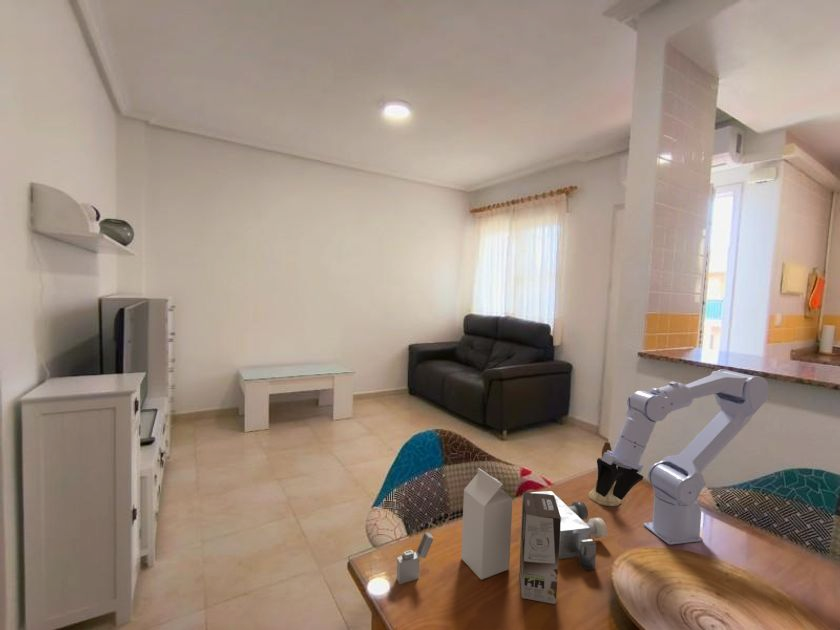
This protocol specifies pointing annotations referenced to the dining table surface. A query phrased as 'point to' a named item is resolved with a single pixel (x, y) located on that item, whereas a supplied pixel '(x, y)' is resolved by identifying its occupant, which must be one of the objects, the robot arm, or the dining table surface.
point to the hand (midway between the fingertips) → (608, 495)
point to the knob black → (579, 510)
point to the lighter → (412, 560)
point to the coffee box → (539, 547)
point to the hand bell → (609, 498)
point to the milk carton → (486, 526)
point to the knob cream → (597, 527)
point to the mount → (569, 530)
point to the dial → (587, 554)
